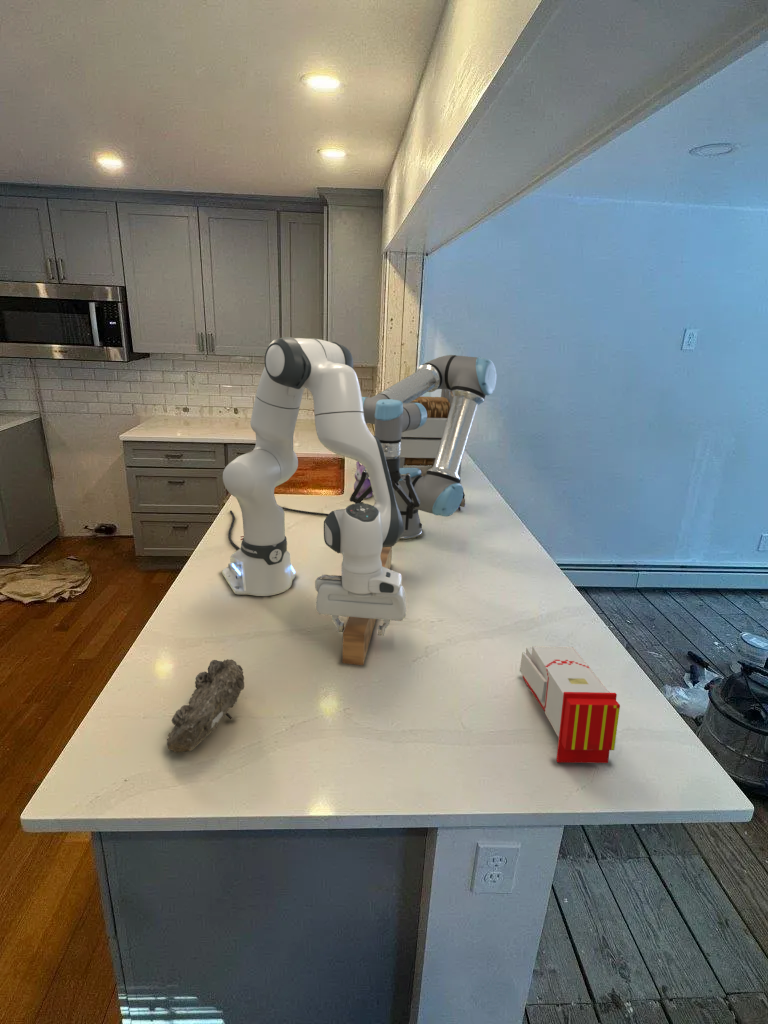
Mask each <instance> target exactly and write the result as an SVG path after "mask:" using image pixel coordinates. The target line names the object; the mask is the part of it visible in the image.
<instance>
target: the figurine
mask: <svg viewBox="0 0 768 1024" xmlns="http://www.w3.org/2000/svg"><path fill="white" fill-rule="evenodd" d="M355 466H356V467H355V468H356V470H355V472H354V479H355V482H354V483H353V491H354V490H355V489H356V487H357V485H358V483H359V482H360V480H361V475H362V472H363V470H367V469H366V468H365V467H364V466H363V465H362V464H361V463H360V462H358V461H355ZM370 485H371V483H370V479H369V478H368V479H365V481H364V483H363V485H362V487H361V488H360V490H359V492H358V494H357V495H356V497H357V498H358V497H359V496H360V495H361V494H362V493H363V492H364V491H365V490H366V489H367V488H368V487H369V486H370ZM372 496H373V491H371V492H370V493H369V494H368V495H367V496H366V497H365V498H364V499H370V498H372Z"/></svg>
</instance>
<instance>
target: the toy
mask: <svg viewBox="0 0 768 1024" xmlns="http://www.w3.org/2000/svg"><path fill="white" fill-rule="evenodd" d="M525 649H526V650H525V652H522V653H521V660H520V666H519V672H520V673H521V675H522V679H523V680H524V682H525V684H526V686H527V687H528V689H529V690H530V692H531V693H532V695H533V697H534V698H535V700H536V701H537V703H538V705H540V707H541V709H542V710H543V712H544V713H545V716H546V718H547V720H548V721H549V723H550V725H551V727H552V729H553V730H554V732H555V734H556V736H557V737H558V742H557V751H556V759H555V760H556V762H557V763H575V764H576V763H577V764H578V763H579V764H581V763H583V764H585V763H586V764H592V763H593V764H608V763H609V756H610V751H615V747H616V739H617V731H618V726H619V725H618V723H619V718H620V717H619V716H620V711H621V710H620V709H621V705H620V703H619V702H618V701H617V696H618V694H617V693H616V692H610V691H609V690H608V688H607V687H606V686H605V685H604V683H603V682H602V681H601V679H600V678H599V677H598V676H597V675H596V674H595V672H594V671H593V670H592V669H591V668H590V665H588V664H587V662H586V661H585V660H584V659H583V657H582V656H581V654H579V652H578V651H577V650H576V649H575V647H574V646H545V645H544V646H543V645H542V646H540V645H535V646H534V645H532V646H531V647H530V646H526V648H525Z"/></svg>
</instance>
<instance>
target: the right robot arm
mask: <svg viewBox="0 0 768 1024" xmlns="http://www.w3.org/2000/svg"><path fill="white" fill-rule="evenodd" d="M496 370H497V369H496V366H495V364H494V362H493V361H492V360H491V359H489V358H485V357H481V356H469V355H467V356H466V355H456V354H447V355H443V356H438V357H436V358H433V359H431V360H429V361H427V362H425V363H423V364H421V365H420V366H418V367H417V369H416V371H415V372H414V373H412V374H410V375H408V376H407V377H405V378H403V379H401V380H400V381H398V382H396V383H394V384H393V385H390V386H389V387H388V388H386V389H383V390H382V391H380V392H379V393H376V394H375V395H373V396H372V397H368V396H362V401H363V410H364V412H363V413H364V418H365V422H366V424H369V425H370V424H371V425H374V436H376V437H377V438H378V439H379V441H380V443H381V445H382V448H383V451H384V454H385V458H386V462H387V466H388V470H389V474H390V478H391V483H392V487H393V491H394V495H395V499H396V503H397V506H398V508H399V511H400V514H401V517H402V520H403V526H404V531H403V534H402V536H401V538H400V539H399V540H398V541H410V540H415V539H418V538H420V537H421V536H422V535H423V523H421V518H420V515H419V511H421V512H425V513H428V514H431V515H435V516H440V517H450V516H452V515H453V514H454V513H456V512H457V510H459V509H458V507H459V506H460V504H461V501H462V498H463V491H464V487H463V485H462V484H461V480H462V479H461V476H460V477H459V475H458V471H459V468H460V464H461V465H462V462H461V461H463V459H464V458H463V457H464V454H465V451H466V447H467V444H468V441H469V437H470V434H471V430H472V427H473V424H474V420H475V417H476V414H477V411H478V410H477V409H478V406H479V405H481V404H482V403H484V402H485V399H486V396H487V397H488V396H491V395H492V394H493V393H494V391H495V389H496V385H497V371H496ZM442 389H447V390H451V391H450V394H451V395H452V397H453V400H452V404H451V407H450V411H449V414H448V417H447V421H446V424H445V428H444V431H443V434H442V438H441V441H440V444H439V448H438V451H437V455H436V458H435V461H434V465H433V466H431V467H430V468H428V469H427V470H426V473H425V475H422V470H421V469H420V468H418V467H404V468H400V457H399V456H400V453H401V434H402V432H405V431H409V430H415V429H417V428H419V427H421V426H423V425H424V424H425V422H426V420H427V411H426V409H425V407H424V406H423V405H422V404H420V403H413V402H412V401H414V400H415V399H417V398H418V397H423V395H425V394H426V393H434V392H435V391H437V390H442ZM410 402H411V403H410ZM365 479H369V475H368V472H367V469H366V470H363V472H362V475H361V480H360V482H359V483H358V485H357V487H356V489H355V490H354V489H353V492H352V494H351V495H350V497H349V502H351V503H353V504H355V503H364V501H363V500H365V499H366V498H365V497H366V496H367V495H368V494H369V493H370V492H371V491H372V487H371V485H370V486H369V487H368V488H367V489H366V490H365V491H364V492H363V493H362V494H361V495H360V496H359V497H358V498H357V497H356V495H357V494H358V492H359V490H360V488H361V487H362V485H363V483H364V481H365ZM281 507H282V509H283V510H284V511H288V512H293V513H300V514H306V515H314V516H324V517H327V516H328V514H329V513H325V512H317V511H307V510H302V509H301V510H300V509H293V508H289V507H285V506H281ZM460 507H461V506H460Z"/></svg>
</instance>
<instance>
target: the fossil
mask: <svg viewBox="0 0 768 1024" xmlns="http://www.w3.org/2000/svg"><path fill="white" fill-rule="evenodd" d="M243 670H244V669H243V667H242V665H240V664H237V662H236V661H235V660H234V659H232V658H231V659H227V658H226V659H224V660H223V661H222V660H217V659H212V660H211V661H210V663H209V665H208V666H207V671H201V672H199V673H198V674H197V675H196V676H195V680H194V684H195V685H194V687H195V689H194V690H193V693H192V694H191V697H190V698H189V700H188V704H184V705H182V706H181V707H180V709H177V710H176V711H175V713H174V715H173V716H172V718H171V723H172V724H173V727H172V730H171V731H170V732H168V734H167V738H166V741H167V742H166V745H167V749H168V750H169V751H173V752H174V753H176V754H178V753H182V752H188V751H189V752H192V751H193V750H195V748H196V747H197V746H199V744H200V743H201V742H203V741H204V740H205V739H206V738H207V737H208V736H209V735H210V734H211V733H212V732H214V730H215V729H217V727H218V726H219V724H220V722H221V721H222V720H223V719H224V718H225V716H226V717H227V719H229V720H233V717H232V715H230V714H229V710H230V709H231V708H234V706H235V704H236V703H237V702H238V699H239V697H240V695H241V693H242V691H243V690H245V689H244V688H245V675H244V671H243Z"/></svg>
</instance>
